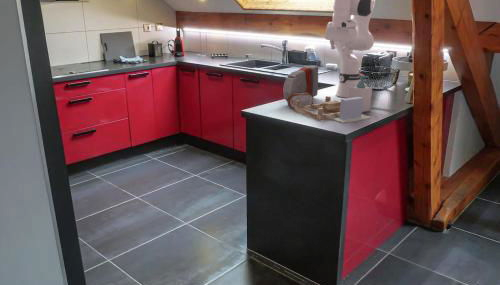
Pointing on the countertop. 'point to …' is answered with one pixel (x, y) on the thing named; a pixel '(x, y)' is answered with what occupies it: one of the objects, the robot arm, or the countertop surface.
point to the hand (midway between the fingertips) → (339, 50)
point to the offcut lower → (331, 110)
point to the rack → (319, 115)
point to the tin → (303, 97)
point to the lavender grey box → (351, 108)
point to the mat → (351, 119)
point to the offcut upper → (331, 105)
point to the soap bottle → (362, 93)
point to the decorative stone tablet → (302, 82)
